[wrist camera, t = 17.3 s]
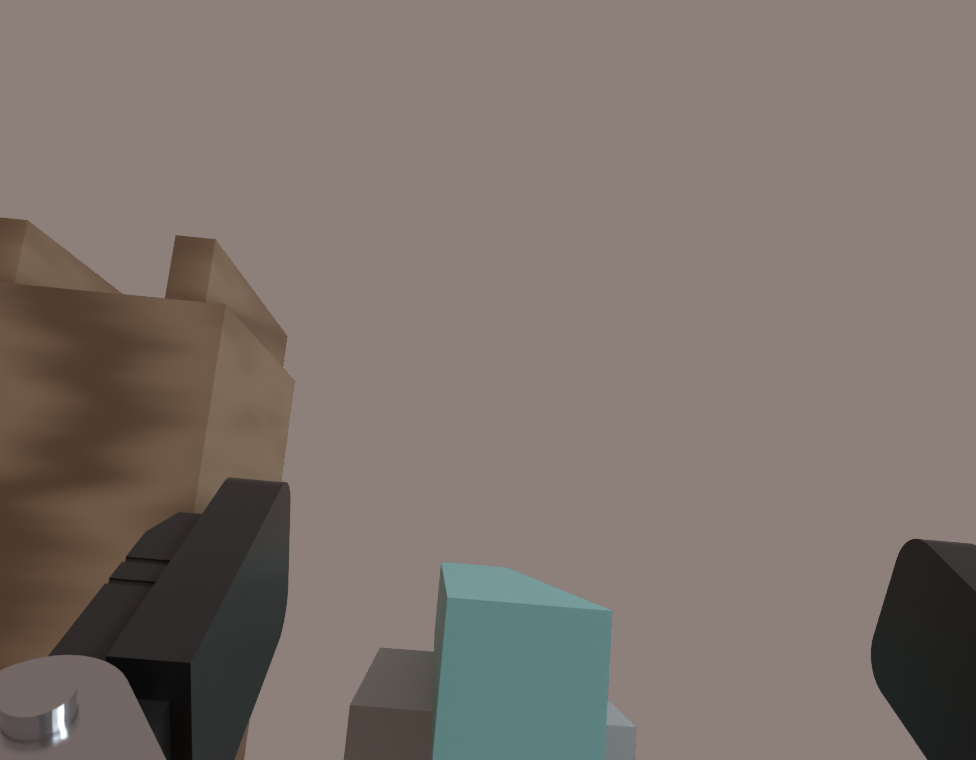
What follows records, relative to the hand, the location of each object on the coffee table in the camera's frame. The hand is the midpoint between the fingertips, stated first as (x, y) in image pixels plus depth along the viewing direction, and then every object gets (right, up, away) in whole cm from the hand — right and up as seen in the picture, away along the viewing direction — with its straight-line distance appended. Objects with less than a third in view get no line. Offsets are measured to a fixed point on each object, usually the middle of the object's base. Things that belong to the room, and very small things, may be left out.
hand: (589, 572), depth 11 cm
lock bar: (-1, -8, +19) cm, 20 cm away
